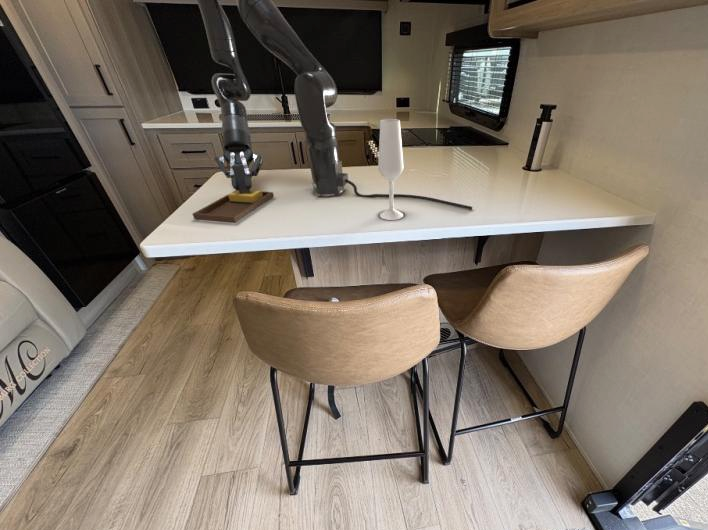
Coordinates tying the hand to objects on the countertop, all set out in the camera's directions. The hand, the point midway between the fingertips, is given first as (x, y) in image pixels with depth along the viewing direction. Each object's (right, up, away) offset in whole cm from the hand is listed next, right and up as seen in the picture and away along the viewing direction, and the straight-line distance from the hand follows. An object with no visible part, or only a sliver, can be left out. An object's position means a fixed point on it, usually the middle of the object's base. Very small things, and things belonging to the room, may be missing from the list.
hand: (242, 188), depth 98 cm
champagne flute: (+44, -9, -4) cm, 45 cm away
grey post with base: (0, -2, +4) cm, 5 cm away
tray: (-2, -6, 0) cm, 6 cm away
